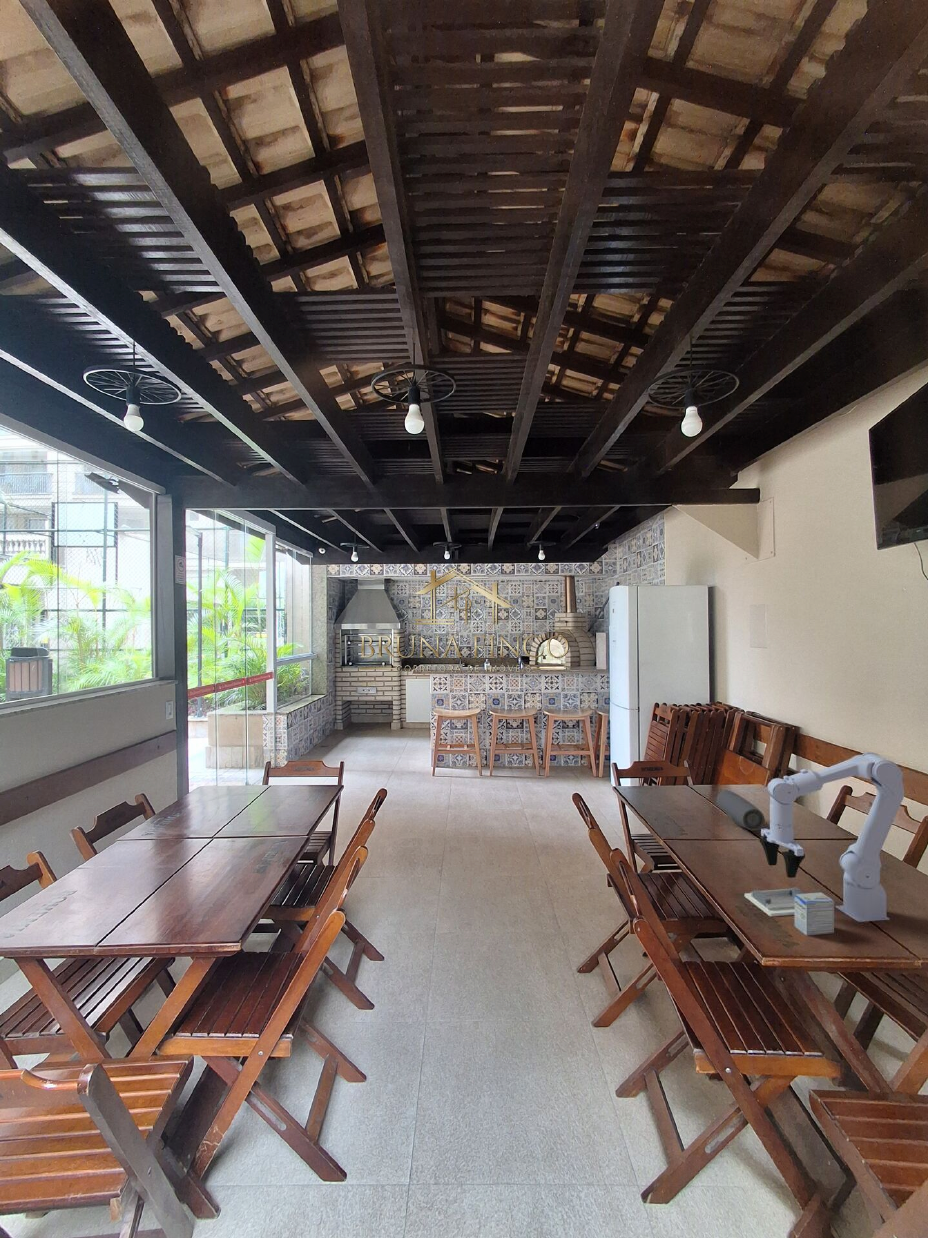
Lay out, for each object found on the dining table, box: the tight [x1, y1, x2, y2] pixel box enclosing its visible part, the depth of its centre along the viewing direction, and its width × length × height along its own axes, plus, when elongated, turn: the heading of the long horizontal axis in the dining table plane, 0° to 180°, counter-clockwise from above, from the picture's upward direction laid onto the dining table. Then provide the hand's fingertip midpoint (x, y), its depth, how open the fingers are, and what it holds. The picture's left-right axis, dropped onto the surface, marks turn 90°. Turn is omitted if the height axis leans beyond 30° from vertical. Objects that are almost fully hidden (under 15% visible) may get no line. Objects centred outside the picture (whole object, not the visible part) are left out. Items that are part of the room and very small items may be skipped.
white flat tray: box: [744, 886, 807, 917], centre depth 156 cm, size 15×11×3 cm
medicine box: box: [794, 892, 835, 936], centre depth 143 cm, size 8×4×9 cm, turn 98°
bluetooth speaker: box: [715, 789, 766, 831], centre depth 218 cm, size 23×9×10 cm, turn 179°
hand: (781, 871), depth 156 cm, fingers open, 7 cm apart
